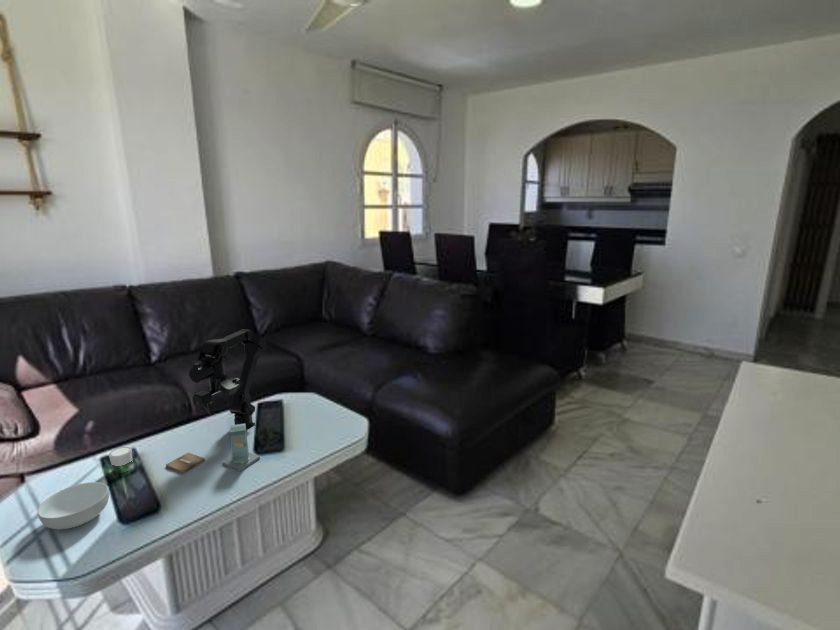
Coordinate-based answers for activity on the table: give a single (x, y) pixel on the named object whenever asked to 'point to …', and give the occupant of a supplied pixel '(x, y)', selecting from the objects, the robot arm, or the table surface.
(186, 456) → the walnut tile
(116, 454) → the white cylinder
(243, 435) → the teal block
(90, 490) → the cereal bowl
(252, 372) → the robot arm
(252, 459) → the slate tile
